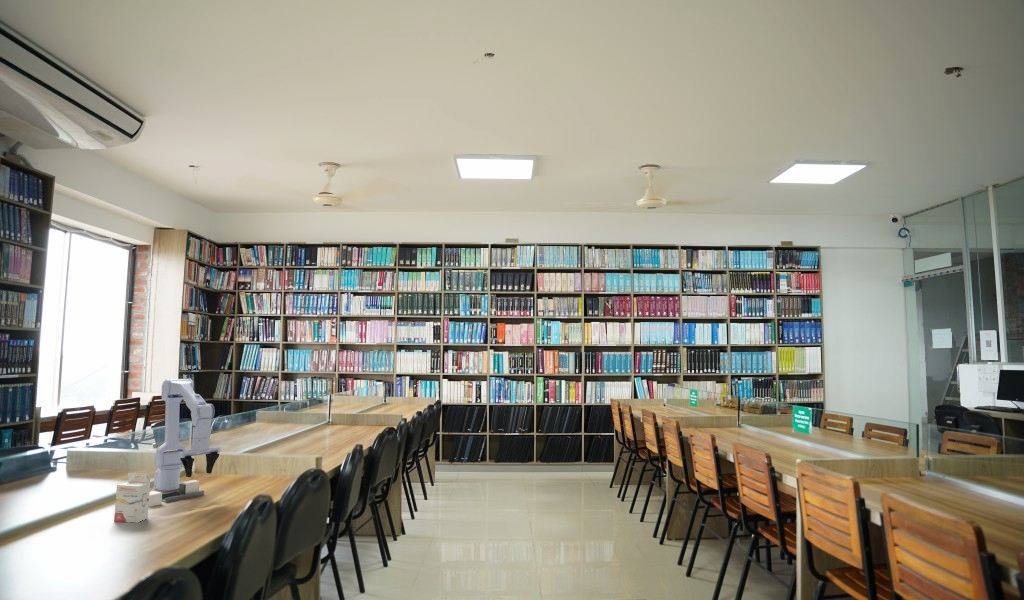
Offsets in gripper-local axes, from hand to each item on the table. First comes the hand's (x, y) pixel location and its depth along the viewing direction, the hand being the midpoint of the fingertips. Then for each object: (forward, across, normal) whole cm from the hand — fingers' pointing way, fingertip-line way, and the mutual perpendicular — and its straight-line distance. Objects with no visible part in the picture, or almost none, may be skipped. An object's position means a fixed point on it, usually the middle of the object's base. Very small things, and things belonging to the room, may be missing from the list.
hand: (198, 475), depth 213 cm
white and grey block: (+9, +2, +9) cm, 13 cm away
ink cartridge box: (+10, -24, -4) cm, 27 cm away
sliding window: (+10, -1, +9) cm, 13 cm away
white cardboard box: (+10, -12, +7) cm, 17 cm away
